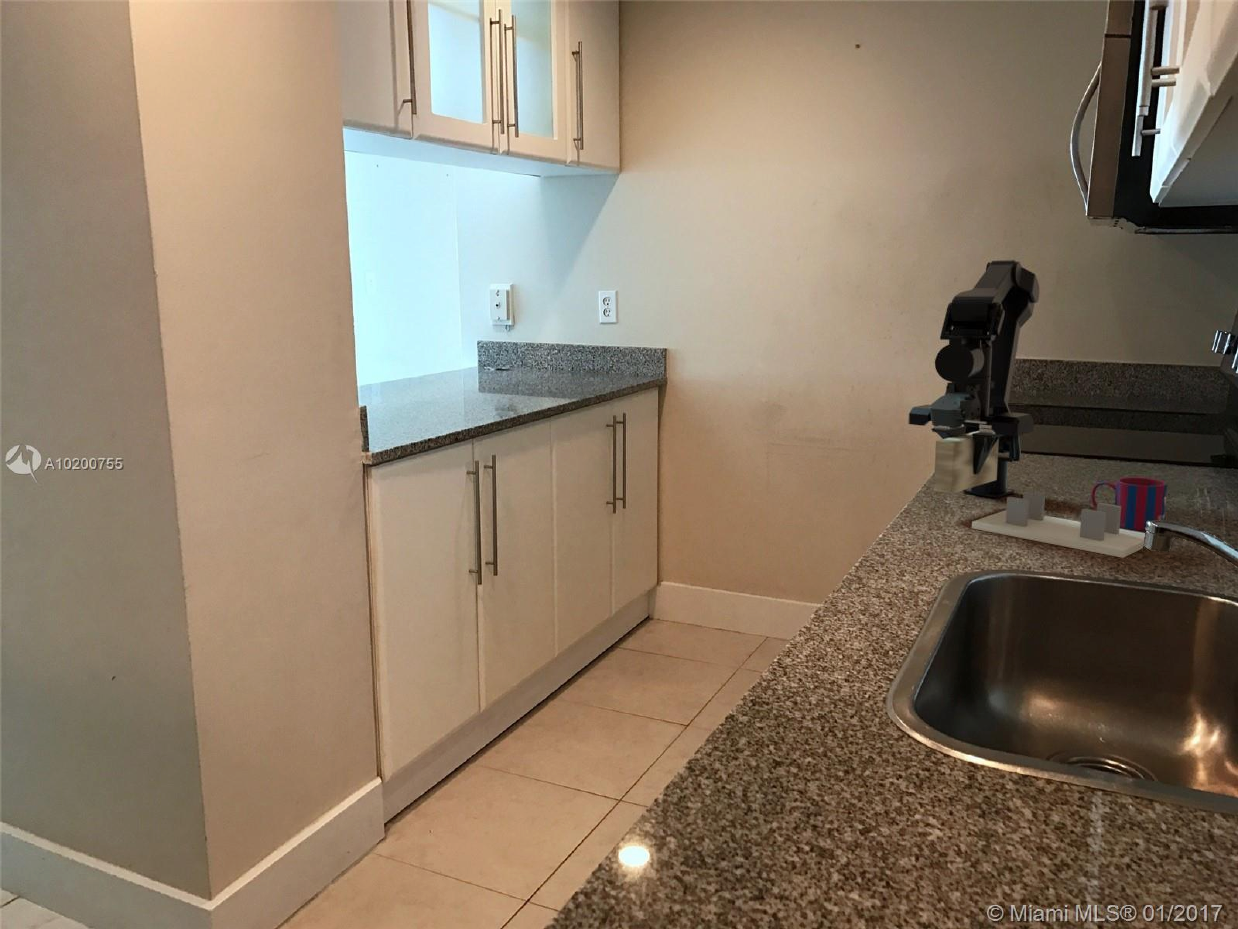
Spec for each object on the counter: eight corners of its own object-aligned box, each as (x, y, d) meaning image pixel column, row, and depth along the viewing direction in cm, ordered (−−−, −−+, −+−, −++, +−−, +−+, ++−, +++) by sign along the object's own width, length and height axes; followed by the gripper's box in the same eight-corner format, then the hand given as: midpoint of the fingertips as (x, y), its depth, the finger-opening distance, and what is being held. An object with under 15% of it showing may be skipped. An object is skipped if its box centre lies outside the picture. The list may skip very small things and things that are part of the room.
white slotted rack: (1007, 515, 153) (1009, 484, 152) (1155, 541, 136) (1158, 507, 135) (971, 528, 146) (973, 496, 145) (1123, 557, 129) (1125, 521, 128)
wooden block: (975, 476, 161) (977, 429, 159) (996, 479, 158) (999, 432, 156) (929, 490, 152) (931, 440, 150) (951, 493, 149) (953, 443, 148)
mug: (1159, 533, 141) (1163, 488, 139) (1085, 524, 147) (1088, 480, 145) (1166, 523, 146) (1170, 480, 145) (1095, 515, 152) (1098, 473, 151)
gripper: (890, 376, 153) (887, 472, 156) (1001, 384, 139) (996, 489, 142) (929, 370, 160) (925, 462, 163) (1038, 377, 146) (1032, 478, 149)
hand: (966, 472), depth 154 cm, fingers closed on wooden block, 3 cm apart
